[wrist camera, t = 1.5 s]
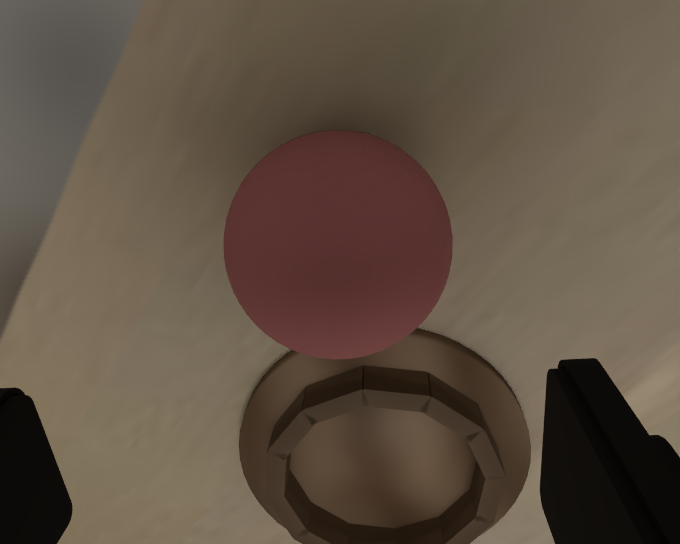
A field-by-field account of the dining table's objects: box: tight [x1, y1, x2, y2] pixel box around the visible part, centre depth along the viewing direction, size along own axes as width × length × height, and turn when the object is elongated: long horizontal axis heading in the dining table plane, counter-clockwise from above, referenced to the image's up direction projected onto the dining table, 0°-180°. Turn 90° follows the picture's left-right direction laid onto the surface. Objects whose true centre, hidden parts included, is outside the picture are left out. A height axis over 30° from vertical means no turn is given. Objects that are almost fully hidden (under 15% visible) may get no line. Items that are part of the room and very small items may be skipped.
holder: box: [239, 329, 531, 544], centre depth 30 cm, size 16×16×3 cm
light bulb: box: [224, 130, 452, 360], centre depth 20 cm, size 7×7×12 cm
